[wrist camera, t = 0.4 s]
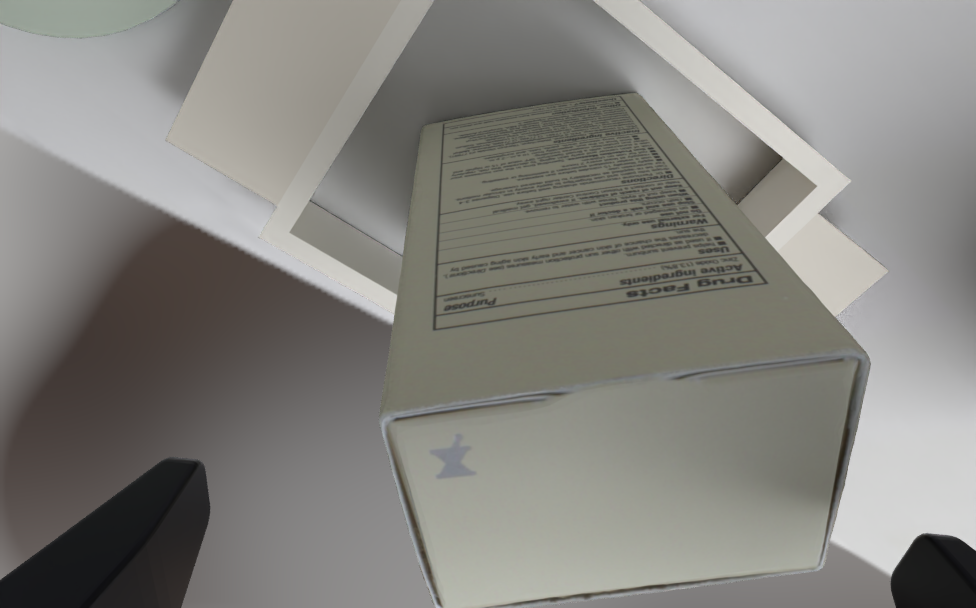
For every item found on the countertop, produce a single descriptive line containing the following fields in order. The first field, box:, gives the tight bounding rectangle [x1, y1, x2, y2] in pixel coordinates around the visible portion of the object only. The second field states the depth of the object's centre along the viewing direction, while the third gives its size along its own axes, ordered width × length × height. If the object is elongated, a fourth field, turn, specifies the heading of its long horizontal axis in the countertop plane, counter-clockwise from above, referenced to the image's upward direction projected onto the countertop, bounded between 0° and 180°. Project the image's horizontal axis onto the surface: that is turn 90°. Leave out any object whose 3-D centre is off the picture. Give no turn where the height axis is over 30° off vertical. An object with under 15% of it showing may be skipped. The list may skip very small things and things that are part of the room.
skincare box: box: [379, 93, 871, 608], centre depth 14 cm, size 6×4×12 cm
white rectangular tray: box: [166, 0, 889, 317], centre depth 19 cm, size 18×10×2 cm, turn 54°
